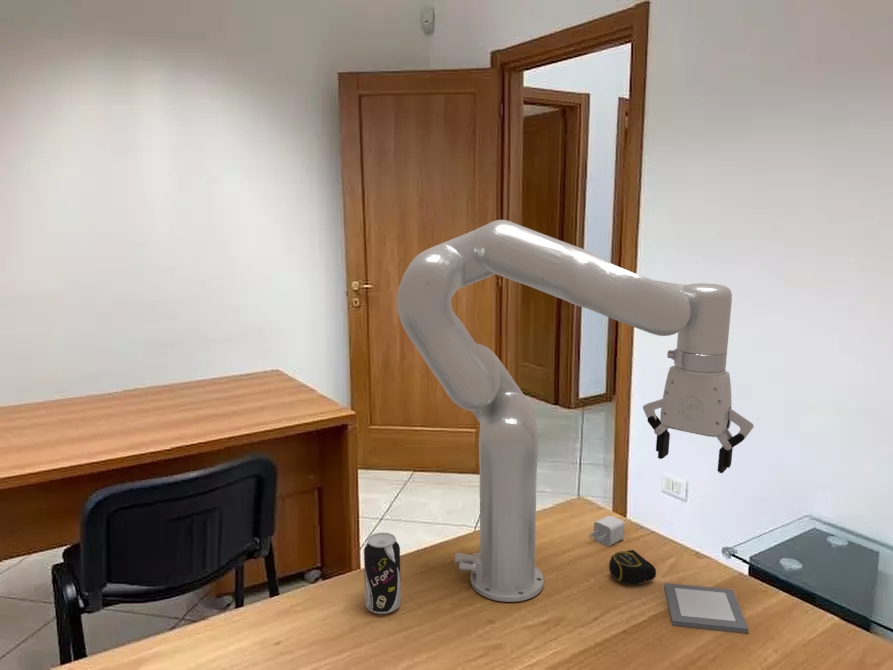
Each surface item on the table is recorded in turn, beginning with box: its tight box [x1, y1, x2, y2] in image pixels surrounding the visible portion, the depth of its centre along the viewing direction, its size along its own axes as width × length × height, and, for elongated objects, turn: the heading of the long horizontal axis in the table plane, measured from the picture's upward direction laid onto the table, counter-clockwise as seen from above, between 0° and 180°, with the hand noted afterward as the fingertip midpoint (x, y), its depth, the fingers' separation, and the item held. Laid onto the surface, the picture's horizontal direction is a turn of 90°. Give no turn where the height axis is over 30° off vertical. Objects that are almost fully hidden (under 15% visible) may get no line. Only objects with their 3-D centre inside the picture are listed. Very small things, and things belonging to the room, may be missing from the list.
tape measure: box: [608, 549, 657, 586], centre depth 118 cm, size 7×7×4 cm
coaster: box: [663, 582, 749, 634], centre depth 109 cm, size 11×11×1 cm
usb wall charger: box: [588, 515, 625, 547], centre depth 131 cm, size 4×7×4 cm, turn 130°
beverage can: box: [363, 532, 402, 615], centre depth 109 cm, size 6×6×12 cm
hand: (692, 463), depth 111 cm, fingers open, 9 cm apart
